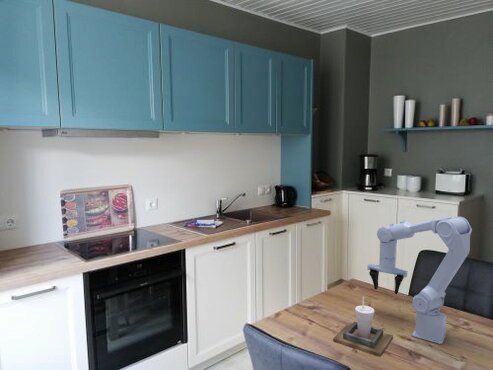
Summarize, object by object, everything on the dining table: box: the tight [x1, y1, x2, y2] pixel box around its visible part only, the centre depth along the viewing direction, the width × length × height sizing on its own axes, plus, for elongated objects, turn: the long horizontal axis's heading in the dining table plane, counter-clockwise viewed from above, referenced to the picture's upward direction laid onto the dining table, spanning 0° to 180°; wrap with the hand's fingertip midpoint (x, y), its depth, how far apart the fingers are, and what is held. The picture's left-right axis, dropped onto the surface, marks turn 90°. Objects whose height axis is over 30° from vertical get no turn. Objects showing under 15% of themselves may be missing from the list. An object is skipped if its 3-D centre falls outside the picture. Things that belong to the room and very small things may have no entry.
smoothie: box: [354, 296, 375, 338], centre depth 129 cm, size 6×6×14 cm
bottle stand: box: [332, 320, 394, 358], centre depth 128 cm, size 16×14×3 cm
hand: (386, 290), depth 144 cm, fingers open, 7 cm apart
